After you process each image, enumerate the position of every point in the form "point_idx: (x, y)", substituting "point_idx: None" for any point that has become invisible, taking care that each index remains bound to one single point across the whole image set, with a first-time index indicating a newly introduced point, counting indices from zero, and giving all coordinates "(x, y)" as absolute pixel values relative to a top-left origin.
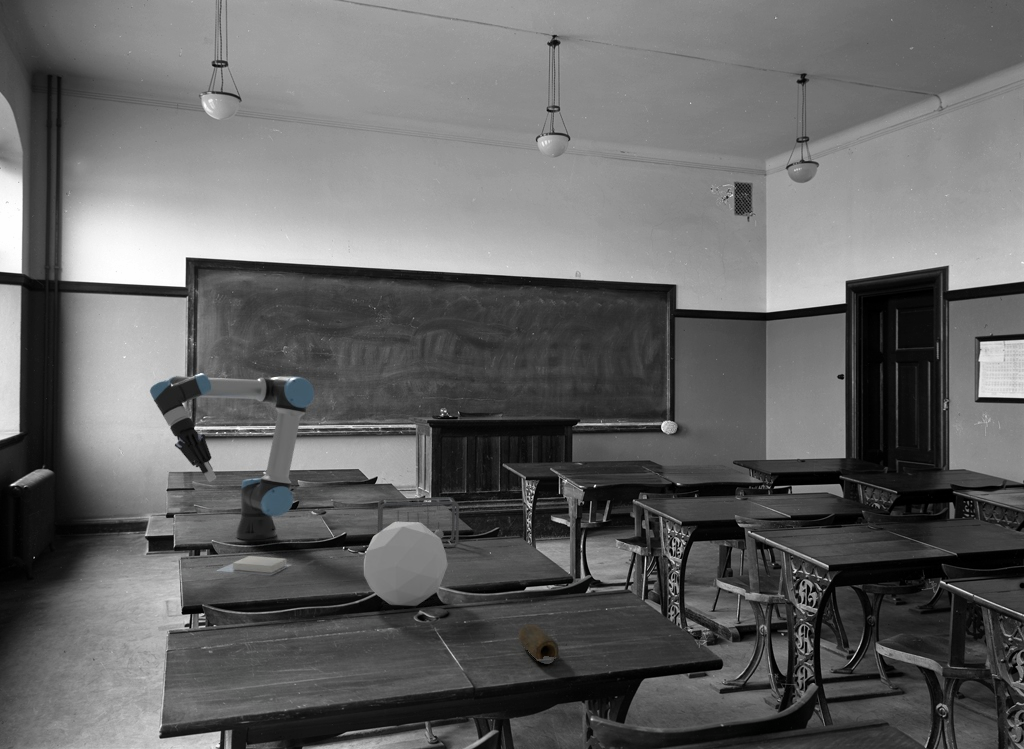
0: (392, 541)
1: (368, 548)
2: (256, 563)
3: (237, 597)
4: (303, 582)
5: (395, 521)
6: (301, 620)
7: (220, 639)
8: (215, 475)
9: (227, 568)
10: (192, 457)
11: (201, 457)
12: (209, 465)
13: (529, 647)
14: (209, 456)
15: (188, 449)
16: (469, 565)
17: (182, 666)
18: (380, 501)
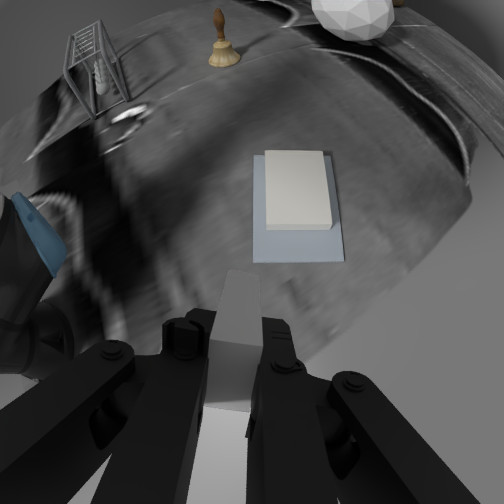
0: None
1: (387, 7)
2: (317, 180)
3: (430, 157)
4: (335, 110)
5: (215, 9)
6: (436, 86)
7: (497, 131)
8: (228, 274)
9: (320, 248)
10: (411, 437)
11: (262, 403)
12: (220, 315)
13: (399, 2)
14: (113, 357)
15: None
16: (197, 28)
17: None
18: (68, 72)
